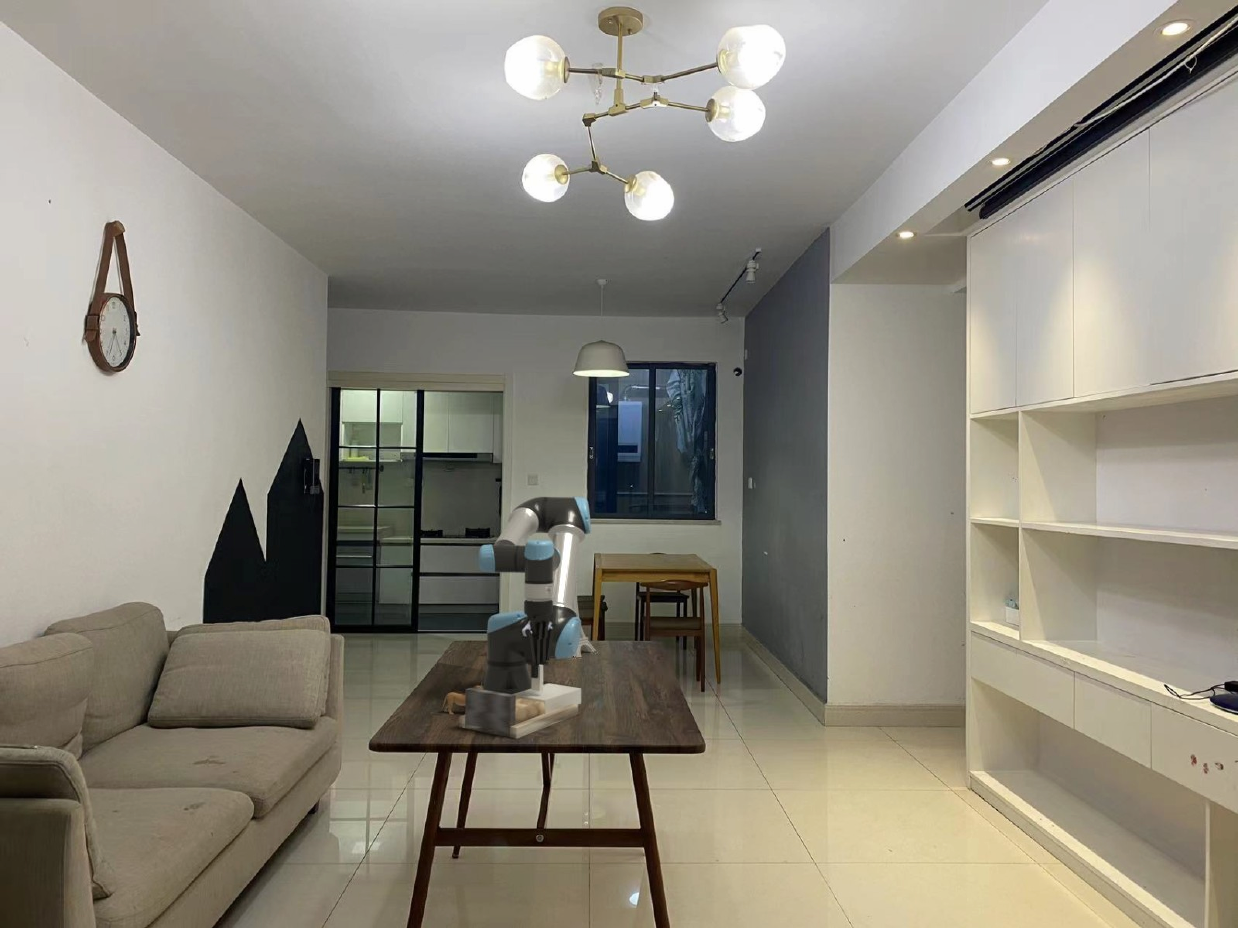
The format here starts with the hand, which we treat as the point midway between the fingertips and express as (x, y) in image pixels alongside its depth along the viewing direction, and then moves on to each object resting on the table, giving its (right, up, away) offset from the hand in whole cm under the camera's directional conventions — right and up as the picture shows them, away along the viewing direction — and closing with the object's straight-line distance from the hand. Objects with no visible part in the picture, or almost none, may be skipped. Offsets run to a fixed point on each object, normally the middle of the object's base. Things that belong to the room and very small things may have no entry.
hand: (537, 689), depth 221 cm
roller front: (-7, -1, -11) cm, 13 cm away
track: (-4, -6, -6) cm, 9 cm away
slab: (+2, -6, +4) cm, 7 cm away
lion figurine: (-20, -7, 0) cm, 21 cm away
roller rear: (-5, -3, -6) cm, 8 cm away
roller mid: (-5, -1, -8) cm, 9 cm away
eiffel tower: (+5, -10, +83) cm, 83 cm away
